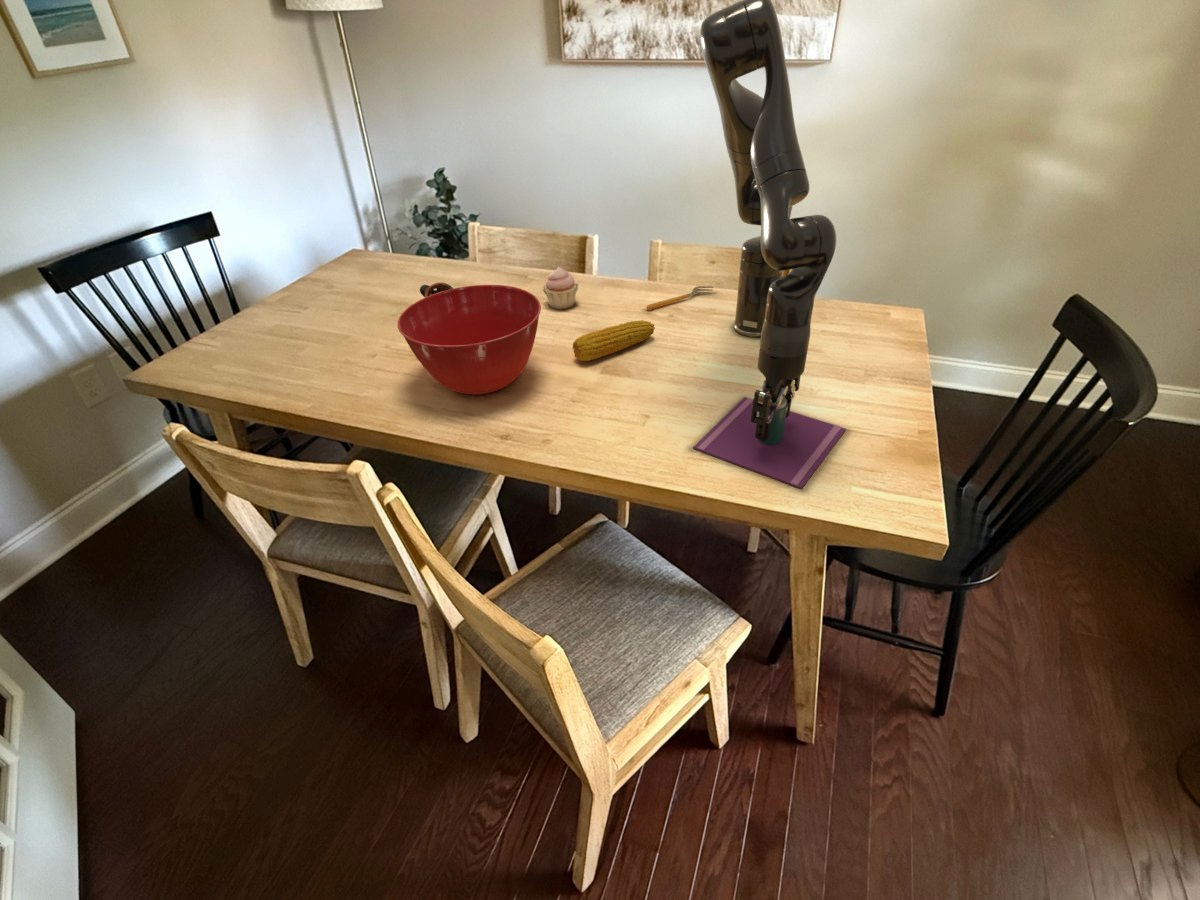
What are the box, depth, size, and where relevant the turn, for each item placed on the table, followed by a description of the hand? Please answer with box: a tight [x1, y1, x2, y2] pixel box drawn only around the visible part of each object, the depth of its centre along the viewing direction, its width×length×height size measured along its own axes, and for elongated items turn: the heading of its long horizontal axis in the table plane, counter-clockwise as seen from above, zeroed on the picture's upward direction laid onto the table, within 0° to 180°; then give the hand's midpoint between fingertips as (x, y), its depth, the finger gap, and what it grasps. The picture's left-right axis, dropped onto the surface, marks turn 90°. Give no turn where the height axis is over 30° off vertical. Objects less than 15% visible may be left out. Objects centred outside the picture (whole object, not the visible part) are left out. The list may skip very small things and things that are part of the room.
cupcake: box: [542, 266, 579, 310], centre depth 163 cm, size 9×9×10 cm
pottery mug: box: [419, 282, 454, 298], centre depth 165 cm, size 12×10×8 cm
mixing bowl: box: [397, 284, 542, 396], centre depth 132 cm, size 28×28×15 cm
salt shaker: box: [758, 397, 788, 445], centre depth 112 cm, size 4×4×8 cm
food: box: [572, 319, 656, 362], centre depth 143 cm, size 21×6×6 cm, turn 126°
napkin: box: [692, 396, 847, 490], centre depth 114 cm, size 20×20×1 cm
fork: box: [645, 285, 714, 311], centre depth 164 cm, size 2×2×20 cm
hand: (772, 427), depth 113 cm, fingers open, 8 cm apart
